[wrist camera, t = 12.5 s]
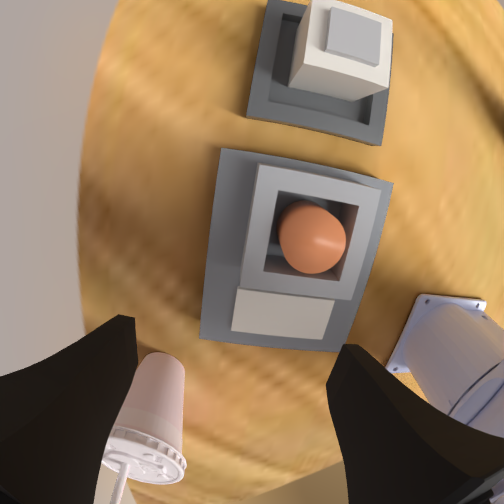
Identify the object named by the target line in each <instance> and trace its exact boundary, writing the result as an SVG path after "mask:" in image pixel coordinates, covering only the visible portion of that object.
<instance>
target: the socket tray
mask: <svg viewBox="0 0 504 504" xmlns="http://www.w3.org/2000/svg"><path fill="white" fill-rule="evenodd" d="M306 8H307V6H306V5H302V4H297V3H292V2H287V1H282V0H268V2H267V7H266V12H265V17H264V22H263V27H262V32H261V37H260V42H259V47H258V53H257V58H256V63H255V69H254V74H253V80H252V85H251V91H250V97H249V102H248V108H247V114H246V118H248V119H254V120H261V121H267V122H273V123H278V124H284V125H289V126H294V127H299V128H303V129H308V130H313V131H317V132H321V133H326V134H330V135H334V136H338V137H342V138H345V139H349V140H353V141H357V142H360V143H364V144H367V145H370V146H381V144H382V138H383V132H384V125H385V119H386V111H387V104H388V95H389V88H387V89H385V90H382V91H379V92H377V93H374V94H371V95H369V96H366V97H364V98H361V99H359V100H356V101H354V102H349V101H346V100H342V99H338V98H335V97H331V96H327V95H323V94H318V93H314V92H310V91H305V90H300V89H295V88H290V87H288V82H289V75H290V69H291V62H292V56H293V49H294V43H295V36H296V31H297V28H298V26H299V24H300V22H301V19H302V17H303V15H304V13H305V11H306ZM392 51H393V33H392V49H391V65H392ZM391 65H390V76H391ZM389 86H390V78H389Z"/></svg>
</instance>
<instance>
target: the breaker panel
mask: <svg viewBox="0 0 504 504" xmlns="http://www.w3.org/2000/svg"><path fill="white" fill-rule="evenodd" d="M393 184H394V183H391V182H387V181H384V180H380V179H377V178H373V177H369V176H365V175H361V174H357V173H353V172H349V171H345V170H341V169H337V168H332V167H328V166H323V165H319V164H314V163H309V162H304V161H299V160H294V159H289V158H284V157H278V156H272V155H267V154H260V153H254V152H248V151H241V150H234V149H227V148H221V153H220V160H219V167H218V173H217V180H216V188H215V195H214V202H213V210H212V218H211V226H210V234H209V243H208V251H207V260H206V270H205V279H204V289H203V300H202V311H201V322H200V334H199V339H206V340H213V341H220V342H227V343H235V344H243V345H252V346H261V347H271V348H282V349H294V350H308V351H325V352H340V350H341V347H342V345H343V344H345V342H346V340H347V337H348V335H349V332H350V330H351V327H352V324H353V322H354V319H355V316H356V313H357V311H358V308H359V305H360V302H361V299H362V296H363V293H364V290H365V287H366V284H367V281H368V278H369V275H370V272H371V269H372V265H373V262H374V259H375V255H376V252H377V248H378V245H379V241H380V238H381V234H382V230H383V226H384V222H385V218H386V214H387V210H388V206H389V202H390V197H391V193H392V188H393ZM302 200H307V201H312V202H315V203H317V204H319V205H320V206H321V207H323V208H324V209H325V210H327V211H328V212H329V213H330V214H332V215H333V216H334V217H335V218H336V219H337V220H338V221H339V222H340V223H341V225H342V226H343V228H344V231H345V235H346V245H345V249H344V252H343V254H342V256H341V258H340V260H339V261H338V262H337V263H336V264H335V265H334V266H333V267H331V268H330V269H328V270H326V271H324V272H321V273H316V274H308V273H303V272H300V271H298V270H296V269H295V268H293V267H292V266H291V265H290V264H289V263H288V262H287V260H286V258H285V256H284V254H283V251H282V248H281V245H280V242H279V239H278V236H277V231H276V225H277V220H278V218H279V216H280V214H281V212H282V211H283V210H284V209H285V208H286V207H287V206H288V205H290V204H292V203H294V202H297V201H302Z"/></svg>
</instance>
